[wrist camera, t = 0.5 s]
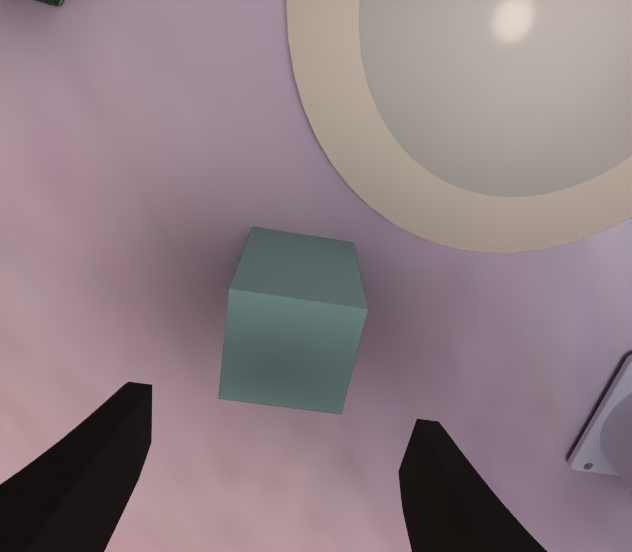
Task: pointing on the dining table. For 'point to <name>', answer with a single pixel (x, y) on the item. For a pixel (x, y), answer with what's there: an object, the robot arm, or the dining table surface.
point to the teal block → (293, 322)
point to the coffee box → (51, 2)
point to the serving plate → (474, 113)
